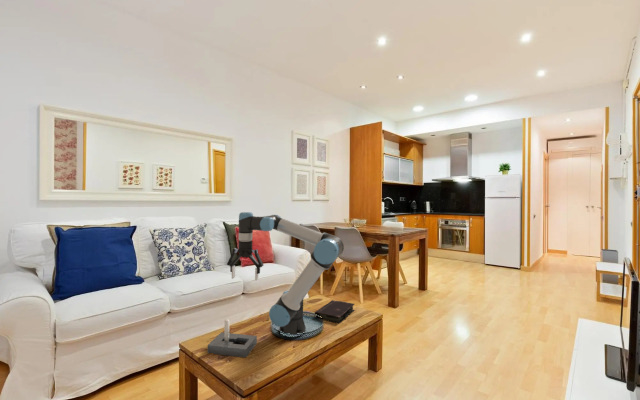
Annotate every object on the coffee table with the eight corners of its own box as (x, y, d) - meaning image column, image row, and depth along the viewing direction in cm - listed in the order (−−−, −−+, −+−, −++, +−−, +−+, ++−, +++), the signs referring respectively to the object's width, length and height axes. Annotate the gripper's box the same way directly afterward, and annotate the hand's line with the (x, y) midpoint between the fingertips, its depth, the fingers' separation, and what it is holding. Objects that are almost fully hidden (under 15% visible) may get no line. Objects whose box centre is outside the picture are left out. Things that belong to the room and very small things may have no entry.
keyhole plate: (256, 343, 161) (256, 335, 161) (246, 357, 147) (246, 349, 147) (221, 339, 164) (221, 332, 164) (207, 353, 150) (207, 345, 150)
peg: (232, 345, 158) (233, 318, 158) (228, 350, 153) (229, 322, 153) (224, 344, 159) (224, 318, 158) (220, 349, 154) (220, 321, 154)
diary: (313, 318, 195) (314, 311, 195) (331, 306, 217) (331, 299, 217) (340, 325, 186) (340, 316, 186) (355, 311, 208) (355, 304, 208)
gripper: (269, 240, 170) (268, 278, 170) (227, 238, 174) (226, 275, 174) (264, 242, 162) (264, 282, 163) (221, 240, 166) (220, 279, 167)
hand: (244, 278), depth 168 cm, fingers open, 13 cm apart
